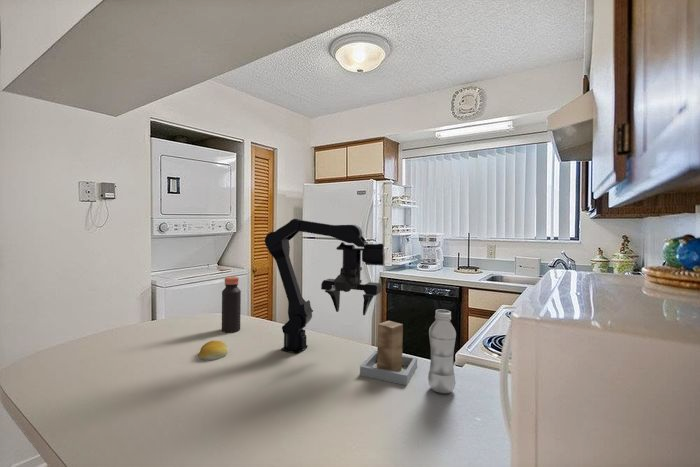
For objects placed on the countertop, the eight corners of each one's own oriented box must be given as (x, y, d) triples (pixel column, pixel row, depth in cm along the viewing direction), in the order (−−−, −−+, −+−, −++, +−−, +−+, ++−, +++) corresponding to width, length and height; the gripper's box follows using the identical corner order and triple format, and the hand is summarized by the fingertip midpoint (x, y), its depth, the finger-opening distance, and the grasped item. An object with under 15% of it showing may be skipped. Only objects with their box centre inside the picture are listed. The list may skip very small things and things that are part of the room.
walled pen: (359, 375, 92) (360, 366, 92) (375, 358, 104) (375, 350, 104) (406, 385, 87) (407, 375, 87) (417, 366, 99) (417, 357, 99)
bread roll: (197, 362, 99) (197, 349, 99) (201, 351, 108) (201, 338, 108) (226, 359, 101) (226, 346, 101) (229, 349, 110) (229, 337, 110)
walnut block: (377, 369, 95) (378, 324, 95) (387, 364, 99) (388, 320, 99) (391, 375, 92) (392, 328, 92) (401, 369, 96) (402, 324, 95)
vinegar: (226, 327, 132) (227, 276, 132) (243, 327, 132) (243, 276, 131) (218, 332, 126) (218, 279, 125) (235, 333, 125) (236, 279, 124)
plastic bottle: (454, 399, 81) (456, 316, 80) (425, 393, 83) (427, 312, 82) (455, 387, 87) (458, 309, 86) (429, 382, 89) (431, 307, 88)
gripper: (313, 265, 103) (312, 315, 103) (371, 269, 96) (369, 323, 96) (329, 261, 113) (328, 307, 114) (382, 265, 106) (381, 314, 106)
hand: (350, 313), depth 107 cm, fingers open, 9 cm apart
